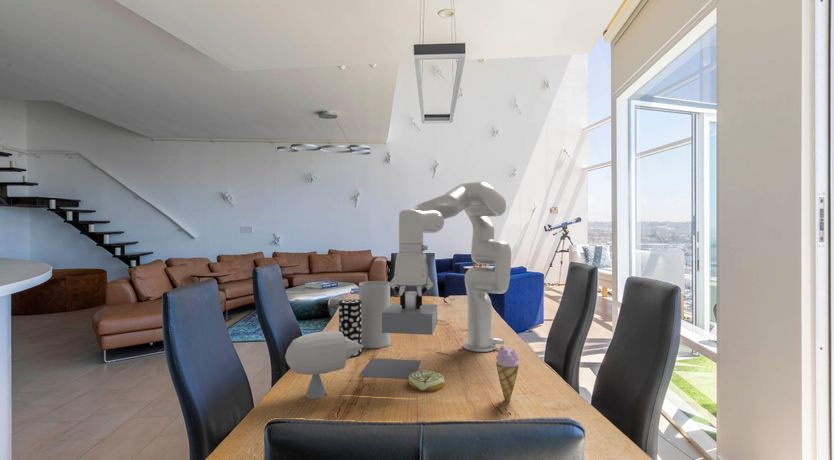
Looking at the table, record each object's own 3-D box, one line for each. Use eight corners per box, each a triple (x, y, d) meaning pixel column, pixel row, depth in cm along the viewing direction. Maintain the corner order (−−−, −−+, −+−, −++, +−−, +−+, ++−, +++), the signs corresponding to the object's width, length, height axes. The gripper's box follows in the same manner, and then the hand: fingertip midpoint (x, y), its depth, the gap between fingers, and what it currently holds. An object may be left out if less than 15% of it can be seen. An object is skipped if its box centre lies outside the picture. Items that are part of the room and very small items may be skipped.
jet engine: (353, 406, 105) (352, 340, 105) (279, 404, 107) (279, 338, 107) (365, 384, 120) (365, 326, 120) (300, 382, 122) (300, 325, 122)
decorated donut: (422, 397, 111) (422, 384, 111) (401, 385, 120) (401, 372, 120) (451, 388, 117) (451, 376, 117) (429, 377, 126) (429, 365, 126)
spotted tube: (357, 359, 144) (356, 303, 144) (335, 357, 145) (335, 303, 145) (364, 352, 152) (364, 299, 152) (344, 351, 153) (343, 299, 153)
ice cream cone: (492, 395, 112) (492, 342, 112) (514, 394, 113) (514, 341, 113) (499, 405, 106) (499, 349, 105) (522, 404, 106) (522, 348, 106)
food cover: (437, 322, 131) (437, 289, 131) (432, 334, 116) (432, 297, 116) (392, 321, 133) (392, 288, 133) (381, 332, 118) (381, 295, 118)
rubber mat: (421, 361, 141) (421, 360, 141) (414, 380, 123) (414, 379, 123) (371, 359, 143) (371, 358, 143) (357, 377, 126) (357, 376, 126)
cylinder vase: (396, 343, 164) (396, 282, 164) (377, 351, 153) (377, 286, 153) (372, 339, 170) (372, 280, 170) (352, 346, 160) (352, 283, 160)
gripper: (438, 249, 127) (438, 306, 127) (387, 248, 130) (387, 305, 130) (436, 250, 120) (436, 311, 120) (382, 249, 122) (382, 309, 122)
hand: (411, 307), depth 125 cm, fingers closed on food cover, 4 cm apart
